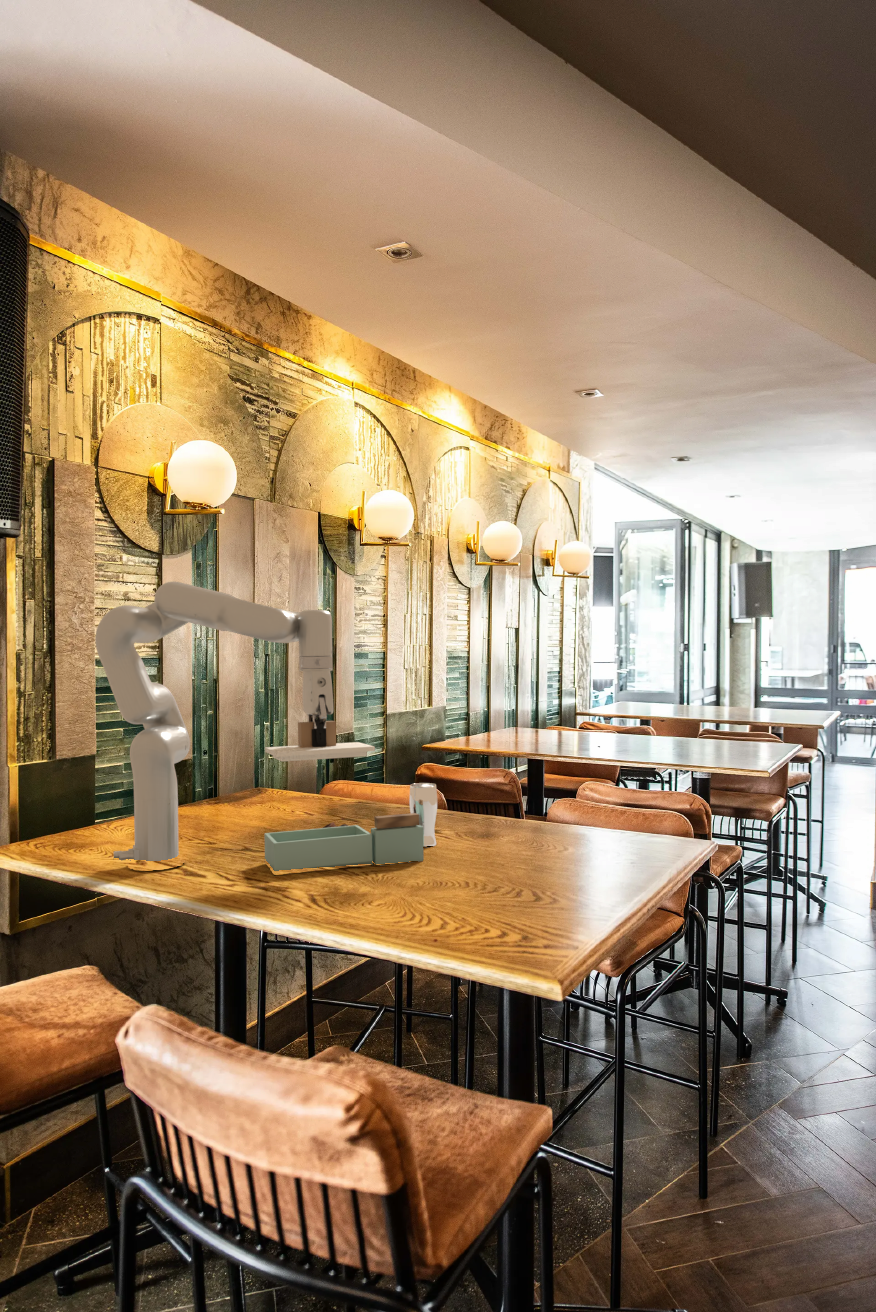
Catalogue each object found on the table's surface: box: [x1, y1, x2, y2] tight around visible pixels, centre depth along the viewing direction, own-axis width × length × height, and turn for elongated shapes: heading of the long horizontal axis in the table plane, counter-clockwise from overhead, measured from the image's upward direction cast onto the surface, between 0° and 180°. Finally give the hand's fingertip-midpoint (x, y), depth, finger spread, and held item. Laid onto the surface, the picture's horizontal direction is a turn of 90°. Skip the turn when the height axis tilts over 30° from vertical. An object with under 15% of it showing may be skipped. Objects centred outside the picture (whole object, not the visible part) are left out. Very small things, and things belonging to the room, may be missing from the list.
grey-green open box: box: [264, 824, 425, 871], centre depth 193 cm, size 34×13×8 cm, turn 111°
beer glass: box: [409, 782, 438, 848], centre depth 210 cm, size 7×7×15 cm
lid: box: [264, 720, 376, 762], centre depth 189 cm, size 22×12×8 cm, turn 113°
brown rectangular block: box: [374, 813, 419, 829], centre depth 193 cm, size 10×2×2 cm, turn 111°
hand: (317, 745), depth 191 cm, fingers closed on lid, 3 cm apart
